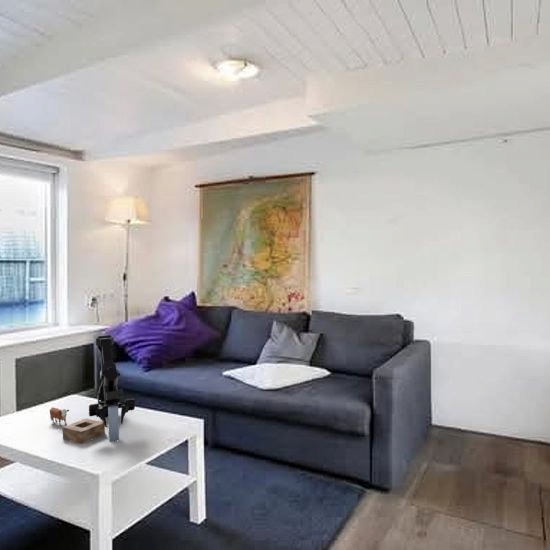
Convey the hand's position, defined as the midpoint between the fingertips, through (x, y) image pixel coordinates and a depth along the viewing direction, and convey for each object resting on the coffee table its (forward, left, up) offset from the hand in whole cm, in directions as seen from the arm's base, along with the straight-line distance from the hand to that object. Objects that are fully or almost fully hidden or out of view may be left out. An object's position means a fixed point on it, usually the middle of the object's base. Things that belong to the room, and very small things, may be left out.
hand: (114, 425), depth 192 cm
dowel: (-1, -1, -7) cm, 7 cm away
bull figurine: (-3, -39, -7) cm, 40 cm away
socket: (+2, -16, -7) cm, 17 cm away
